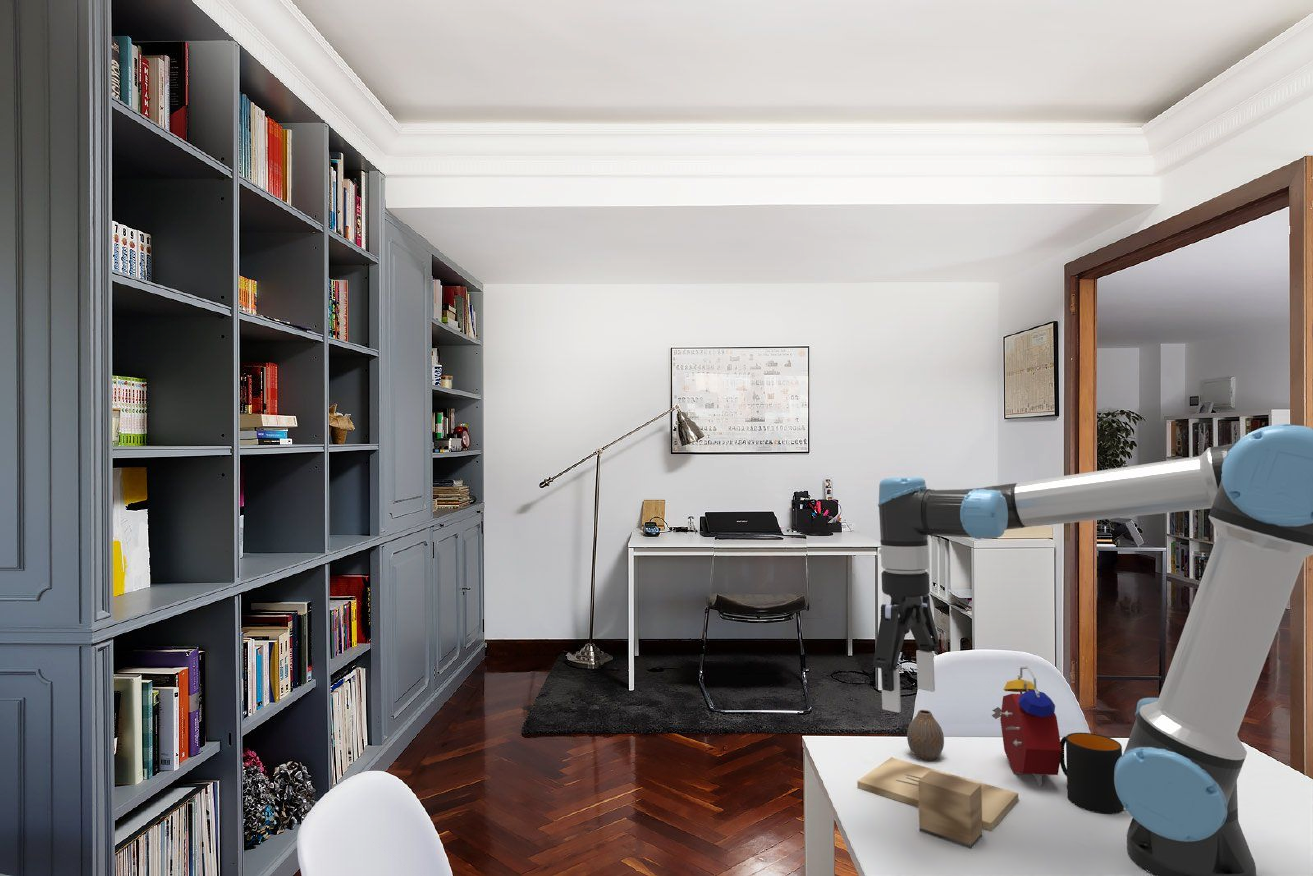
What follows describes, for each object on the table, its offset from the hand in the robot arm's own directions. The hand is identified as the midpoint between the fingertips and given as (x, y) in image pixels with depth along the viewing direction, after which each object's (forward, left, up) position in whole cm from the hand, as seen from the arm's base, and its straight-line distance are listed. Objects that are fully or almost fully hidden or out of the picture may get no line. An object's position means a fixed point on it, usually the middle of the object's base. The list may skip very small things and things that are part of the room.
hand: (909, 700), depth 119 cm
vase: (+9, -27, -20) cm, 34 cm away
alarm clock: (-8, -31, -20) cm, 37 cm away
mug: (-19, -28, -20) cm, 39 cm away
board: (+1, -12, -19) cm, 23 cm away
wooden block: (-6, 0, -20) cm, 20 cm away
